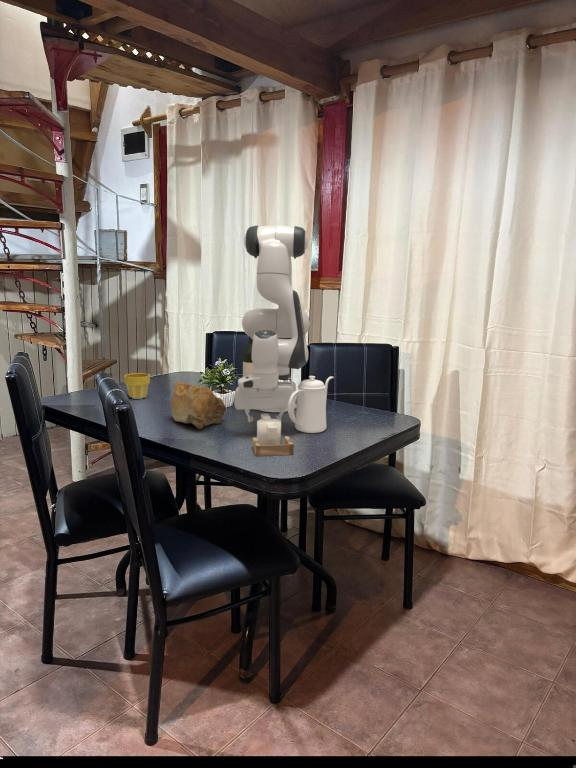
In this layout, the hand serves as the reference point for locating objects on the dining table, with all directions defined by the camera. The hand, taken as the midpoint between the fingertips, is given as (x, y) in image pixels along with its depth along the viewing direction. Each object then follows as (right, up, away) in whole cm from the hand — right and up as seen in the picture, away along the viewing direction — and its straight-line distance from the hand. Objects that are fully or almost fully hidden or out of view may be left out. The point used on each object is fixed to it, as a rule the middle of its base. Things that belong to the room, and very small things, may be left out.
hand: (264, 421), depth 191 cm
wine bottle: (-9, +10, +71) cm, 72 cm away
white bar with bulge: (+1, -6, -7) cm, 9 cm away
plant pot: (-55, +6, +49) cm, 73 cm away
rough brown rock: (-23, -2, +13) cm, 26 cm away
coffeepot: (+16, -3, +8) cm, 18 cm away
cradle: (+3, -8, -15) cm, 17 cm away
